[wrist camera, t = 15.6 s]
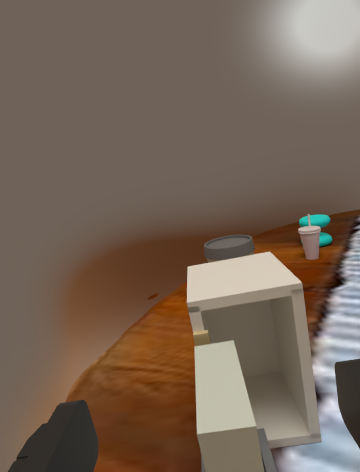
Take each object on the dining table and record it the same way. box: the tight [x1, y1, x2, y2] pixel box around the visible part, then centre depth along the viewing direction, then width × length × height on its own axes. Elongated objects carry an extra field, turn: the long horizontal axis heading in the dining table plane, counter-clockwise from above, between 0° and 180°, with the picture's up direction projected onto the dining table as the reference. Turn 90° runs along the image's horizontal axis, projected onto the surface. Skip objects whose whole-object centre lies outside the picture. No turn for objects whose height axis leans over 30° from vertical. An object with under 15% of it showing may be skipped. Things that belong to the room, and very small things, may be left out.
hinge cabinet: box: [187, 252, 321, 472], centre depth 31 cm, size 14×24×20 cm, turn 178°
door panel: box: [195, 340, 264, 472], centre depth 25 cm, size 4×10×16 cm, turn 178°
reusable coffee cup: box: [204, 235, 255, 263], centre depth 73 cm, size 13×13×15 cm
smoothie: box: [298, 214, 321, 260], centre depth 88 cm, size 6×6×14 cm
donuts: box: [299, 215, 332, 247], centre depth 101 cm, size 10×10×10 cm
